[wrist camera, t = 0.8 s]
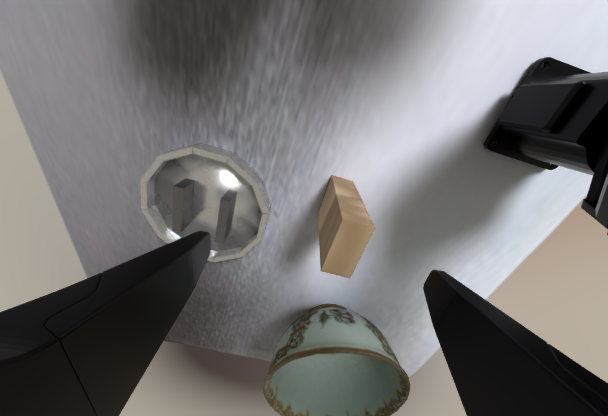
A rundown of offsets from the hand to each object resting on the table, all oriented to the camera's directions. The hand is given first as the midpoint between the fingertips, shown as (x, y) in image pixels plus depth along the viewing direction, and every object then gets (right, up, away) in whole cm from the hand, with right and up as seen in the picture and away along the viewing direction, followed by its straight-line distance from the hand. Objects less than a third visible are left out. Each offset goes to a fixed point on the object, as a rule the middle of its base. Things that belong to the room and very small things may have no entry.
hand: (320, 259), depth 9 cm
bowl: (+3, -12, +20) cm, 23 cm away
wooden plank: (+2, +3, +12) cm, 13 cm away
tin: (-9, +2, +13) cm, 16 cm away
